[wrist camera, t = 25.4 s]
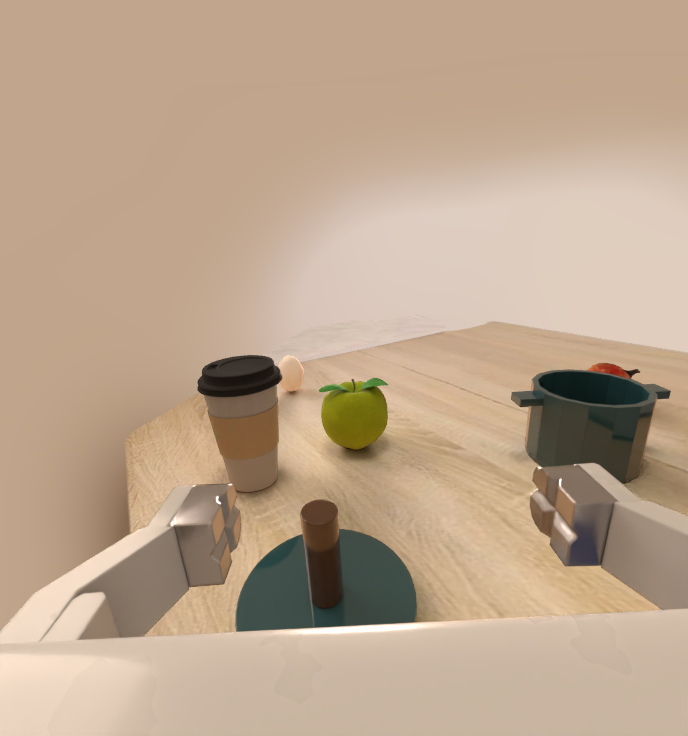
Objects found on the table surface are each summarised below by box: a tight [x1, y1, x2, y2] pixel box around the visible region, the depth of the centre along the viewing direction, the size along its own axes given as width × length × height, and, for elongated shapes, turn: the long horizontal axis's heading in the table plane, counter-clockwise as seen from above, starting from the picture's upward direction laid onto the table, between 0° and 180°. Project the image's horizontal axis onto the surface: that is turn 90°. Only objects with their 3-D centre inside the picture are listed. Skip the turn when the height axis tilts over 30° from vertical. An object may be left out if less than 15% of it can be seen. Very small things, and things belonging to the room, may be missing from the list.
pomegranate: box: [587, 363, 640, 379], centre depth 60 cm, size 7×7×10 cm
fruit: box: [319, 378, 388, 450], centre depth 51 cm, size 9×9×10 cm
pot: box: [511, 370, 671, 483], centre depth 46 cm, size 12×18×10 cm
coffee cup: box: [198, 355, 282, 492], centre depth 44 cm, size 9×9×15 cm
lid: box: [235, 500, 417, 632], centre depth 27 cm, size 13×13×9 cm
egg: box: [278, 356, 304, 391], centre depth 73 cm, size 5×5×7 cm
